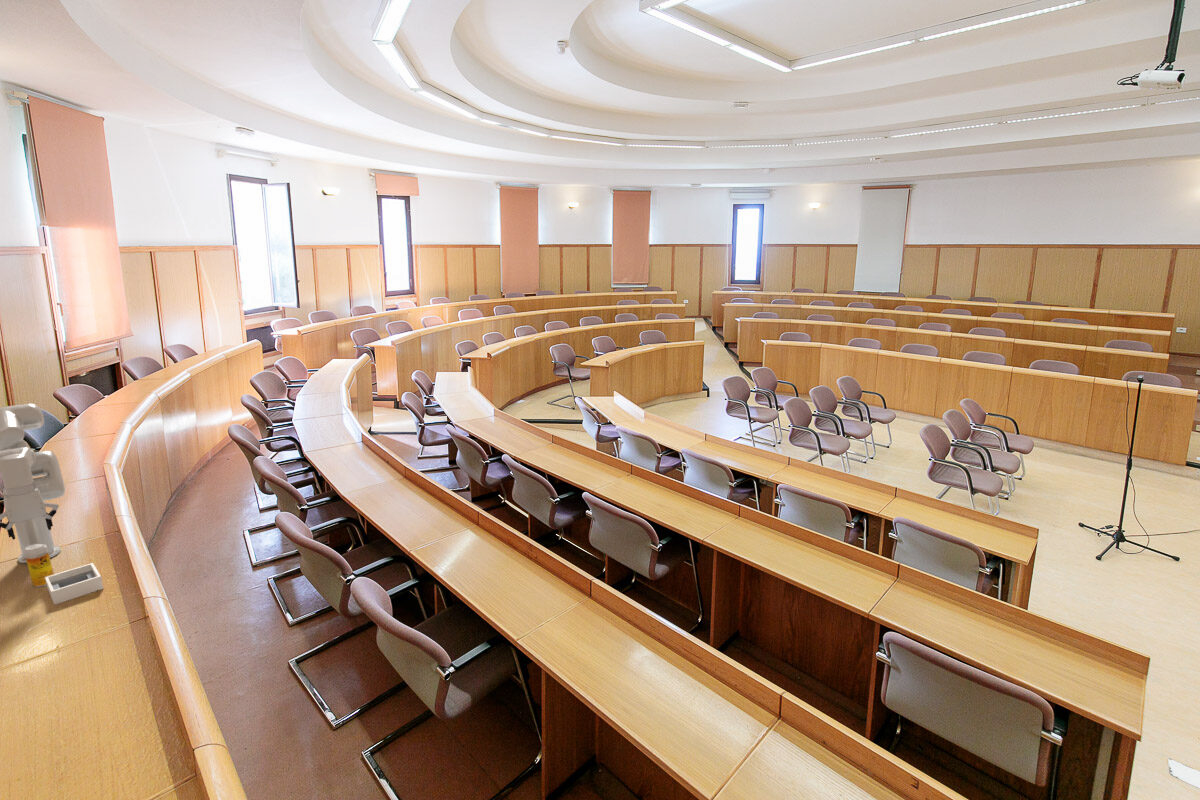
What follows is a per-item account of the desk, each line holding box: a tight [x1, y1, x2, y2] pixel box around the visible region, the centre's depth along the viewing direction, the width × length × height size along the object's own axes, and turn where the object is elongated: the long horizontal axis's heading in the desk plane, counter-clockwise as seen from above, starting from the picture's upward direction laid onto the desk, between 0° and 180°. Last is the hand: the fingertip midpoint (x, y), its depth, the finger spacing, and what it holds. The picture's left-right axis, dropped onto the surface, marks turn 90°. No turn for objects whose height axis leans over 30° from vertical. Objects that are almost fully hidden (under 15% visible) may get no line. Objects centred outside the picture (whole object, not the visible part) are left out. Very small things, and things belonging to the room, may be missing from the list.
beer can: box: [24, 543, 54, 588], centre depth 223 cm, size 6×6×15 cm
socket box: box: [45, 562, 104, 605], centre depth 221 cm, size 14×14×5 cm
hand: (31, 533), depth 220 cm, fingers open, 9 cm apart
